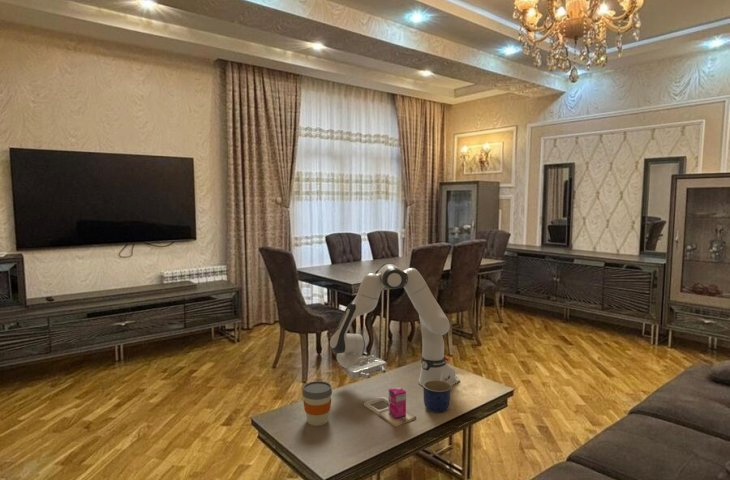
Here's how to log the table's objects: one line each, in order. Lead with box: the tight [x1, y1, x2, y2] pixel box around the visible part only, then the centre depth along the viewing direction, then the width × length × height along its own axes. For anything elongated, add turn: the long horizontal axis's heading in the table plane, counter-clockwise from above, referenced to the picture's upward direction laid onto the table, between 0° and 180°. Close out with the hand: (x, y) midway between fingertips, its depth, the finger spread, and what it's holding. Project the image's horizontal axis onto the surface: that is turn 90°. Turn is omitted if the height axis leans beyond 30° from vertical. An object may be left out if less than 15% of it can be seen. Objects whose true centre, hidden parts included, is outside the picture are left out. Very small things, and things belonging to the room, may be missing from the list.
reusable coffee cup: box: [302, 380, 333, 427], centre depth 191 cm, size 13×13×15 cm
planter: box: [422, 380, 452, 414], centre depth 203 cm, size 12×12×11 cm
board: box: [378, 410, 417, 427], centre depth 195 cm, size 12×11×1 cm
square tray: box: [363, 395, 389, 416], centre depth 205 cm, size 11×11×2 cm
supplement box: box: [388, 386, 407, 419], centre depth 194 cm, size 6×6×12 cm
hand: (376, 374), depth 206 cm, fingers open, 8 cm apart
